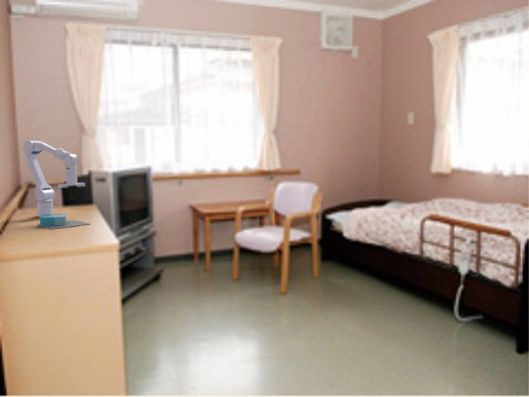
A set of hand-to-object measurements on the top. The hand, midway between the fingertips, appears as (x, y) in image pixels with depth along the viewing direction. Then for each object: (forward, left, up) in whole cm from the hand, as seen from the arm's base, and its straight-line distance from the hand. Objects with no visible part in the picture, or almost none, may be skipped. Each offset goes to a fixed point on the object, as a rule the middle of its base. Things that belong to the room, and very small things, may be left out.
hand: (72, 199), depth 262 cm
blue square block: (+9, -15, -8) cm, 19 cm away
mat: (+19, -14, -10) cm, 25 cm away
